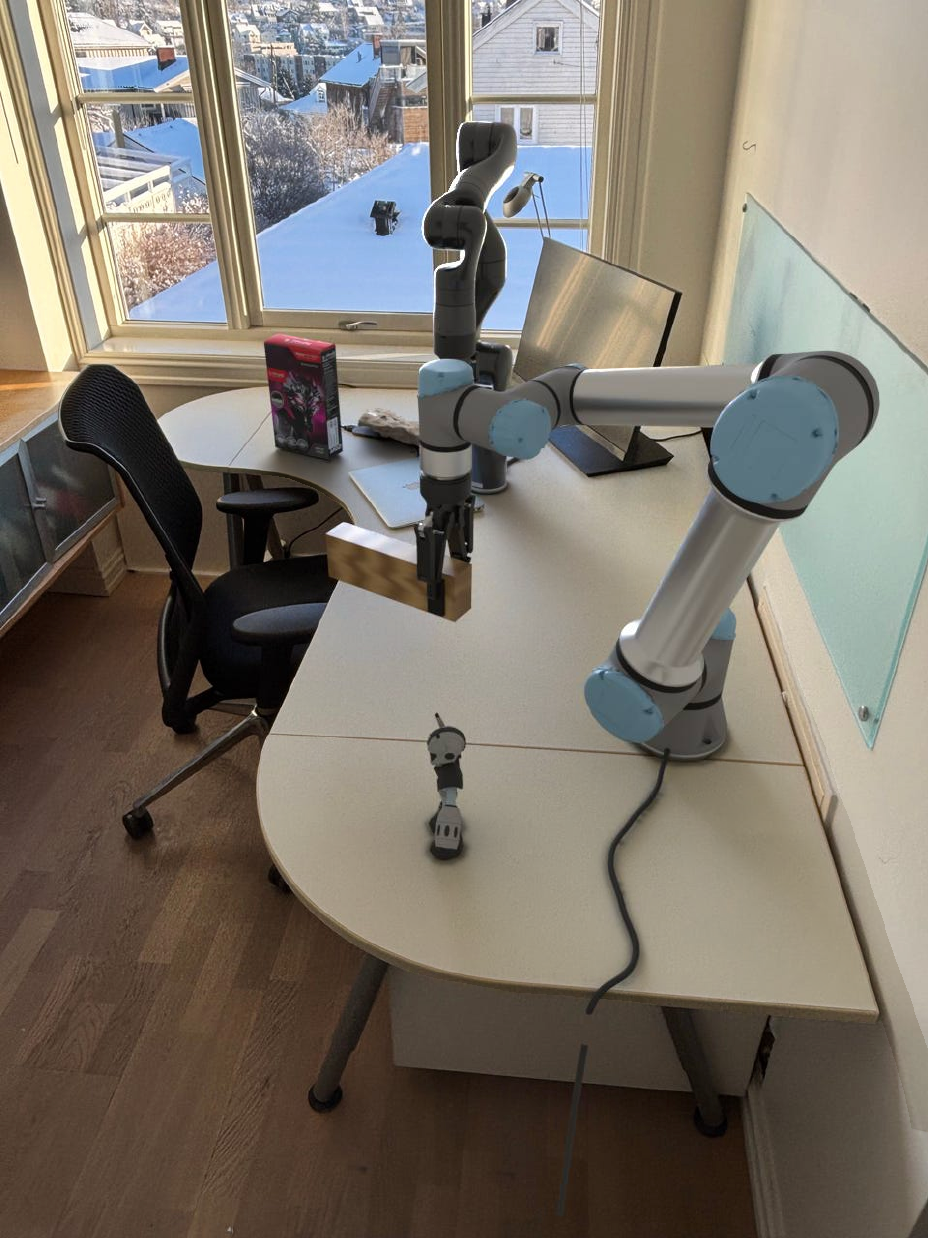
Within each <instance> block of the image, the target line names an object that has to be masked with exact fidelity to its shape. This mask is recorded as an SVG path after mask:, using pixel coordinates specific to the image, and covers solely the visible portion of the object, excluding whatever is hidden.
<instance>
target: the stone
mask: <svg viewBox="0 0 928 1238" xmlns="http://www.w3.org/2000/svg"><path fill="white" fill-rule="evenodd" d="M357 426H358V427H368V428H369V429H370V430H371V431H373V432H375V433H378V434H380V437H383V438H387V439H388V438H391V439H393V440H395V441H400V442H401V443H404V444H409V445H415V446H417V447H420V445H419V444H420V443H419V420H413V419H406V418H405V417H402V416H401V415H397V414H396V413H394V412H391V410H390V409H384V408H380V407H377V408H374V409H366V410H365V411H363V413H362V414H361V416H360V417H359V419H358V420H357Z"/></svg>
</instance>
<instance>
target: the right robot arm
mask: <svg viewBox="0 0 928 1238" xmlns="http://www.w3.org/2000/svg"><path fill="white" fill-rule="evenodd" d="M473 382H474V377H473V370H472V367H471V366H470V365H468V364H467V363H466V362H464V361H461V360H455V359H439V358H438V359H434V360H431V361H427V362H426V363H424V364H423V365H422V366H421V367H420V368H419V370H418V380H417V394H416V398H417V411H418V422H419V443H420V444H419V445H420V446H419V468H420V471H419V494H420V496H421V498H423V500H424V502H425V503H426V508H425V512H424V517H425V518H424V519H423V520H422V522H421V523H419V522H415V523H414V525H413V532H414V534H415V540H416V541H415V542H416V543H415V544H416V545H415V546H416V551H417V579H418V580H420V581H423V582H426V583H427V597H428V612H429V613H428V612H427V613H428V614H430V613H432V614H431V615H433V614H434V615H433V616H436V615H437V616H436V617H439V616H440V617H439V618H441V617H443V616H444V615H445V579H442V578H441V577H442V570H443V563H444V555H446V548H447V547H448V551H449V557H452V558H455V559H458V560H461V561H464V562H467V563H470V564H471V561H472V557H471V556H468V554H472V553H473V551H474V527H475V526H474V524H475V523H474V521H475V520H474V519H475V517H474V515H475V505H476V499H477V496H476V495H475V494H472V491H471V477H472V473H471V471H470V470H471V468H472V443H473V444H476V445H478V446H481V447H484V448H486V449H489V450H492V451H494V452H497V453H499V454H501V455H503V456H507V458H513V457H515V458H518V460H524V461H527V460H531V459H534V458H536V457H537V456H539V455H540V453H541V450H542V449H544V448H545V447H546V445H547V443H548V441H549V438H550V435H551V432H552V431H555V430H556V429H558V428H560V427H563V426H610V427H611V426H615V427H616V426H617V427H619V426H620V427H666V428H667V427H671V428H672V427H673V428H713V429H712V433H711V439H710V447H709V448H710V455H711V458H709V459H710V460H709V462H708V463H707V466H706V469H705V470H706V473H705V474H706V477H707V480H708V482H709V485H710V486H711V487H710V489H709V491H708V493H707V495H706V497H705V499H704V500H703V502H702V504H701V506H700V508H699V510H698V512H697V513H696V515H695V517H694V519H693V521H692V523H691V525H690V527H689V529H688V531H687V533H686V534H685V536H684V538H683V540H682V542H681V544H680V545H679V548H678V549H677V551H676V553H675V555H674V557H673V559H672V561H671V563H670V564H669V566H668V568H667V570H666V572H665V573H664V576H663V577H662V579H661V582H660V583H659V585H658V587H657V589H656V591H655V592H654V594H653V597H652V599H651V600H650V602H649V604H648V606H647V608H646V609H645V612H644V614H643V615H642V617H641V619H640V618H639V619H635V620H633V621H631V622H629V623H627V624H626V626H625V627H624V628H623V629H622V631H621V632H620V634H619V636H618V638H617V640H616V641H615V644H614V645H613V647H612V650H611V651H610V653H609V655H608V656H607V658H606V659H605V660H604V662H602V664H601V665H600V666H598V667H595V668H594V669H593V670H592V671H591V673H590V675H588V677H587V678H586V680H585V682H584V685H583V695H584V700H585V703H586V706H587V707H588V709H589V711H590V714H591V716H592V717H593V718H594V720H595V721H596V722H597V723H598V724H599V725H600V727H602V728H603V729H604V730H605V731H606V732H607V733H608V734H610V735H612V736H613V737H615V738H617V739H619V740H621V741H624V742H627V743H632V742H633V743H634V744H636V745H637V746H638V747H639V748H640V749H641V750H643V751H645V752H646V753H648V754H650V755H651V756H654V757H656V758H659V759H661V763H660V765H659V766H660V767H659V771H658V774H657V780H656V783H655V785H654V788H653V789H652V791H651V793H650V794H649V796H648V797H647V798H646V799H645V801H643V803H642V804H641V805H640V806H639V807H638V808H637V809H636V810H635V811H634V812H633V814H632V815H631V816H630V818H629V819H628V820H627V822H626V823H625V824H624V825H623V826H622V828H621V829H620V830H619V831H618V833H617V834H616V835H615V837H614V838H613V839H612V841H611V844H610V846H609V850H608V853H607V861H606V862H607V871H608V876H609V879H610V882H611V885H612V888H613V891H614V894H615V896H616V899H617V903H618V907H619V911H620V914H621V917H622V919H623V922H624V924H625V927H626V929H627V931H628V935H629V937H630V940H631V945H632V946H631V947H632V953H631V959H630V962H629V963H628V965H627V967H626V968H624V969H623V970H622V971H621V972H620V973H618V974H616V975H615V976H614V977H612V978H610V979H609V980H608V981H606V982H605V983H603V984H602V985H601V986H600V987H599V988H598V989H597V990H596V992H595V993H594V994H593V995H592V997H591V998H590V1000H589V1002H588V1004H587V1006H586V1008H585V1014H586V1015H588V1016H590V1015H592V1014H593V1013H594V1011H595V1008H596V1006H597V1004H598V1003H599V1001H600V1000H601V998H602V997H603V996H604V995H605V994H606V993H607V992H608V991H610V990H611V989H612V988H613V987H615V986H616V985H618V984H620V983H621V982H623V981H624V980H625V979H627V978H628V977H629V976H630V975H631V974H632V973H633V972H634V970H635V969H636V966H637V965H638V961H639V958H640V942H639V938H638V935H637V932H636V928H635V927H634V924H633V923H632V920H631V918H630V915H629V913H628V910H627V905H626V902H625V899H624V895H623V892H622V889H621V887H620V884H619V881H618V878H617V875H616V871H615V865H614V862H615V861H614V860H615V852H616V850H617V847H618V845H619V844H620V842H621V840H622V839H623V838H624V837H625V835H626V834H627V833H628V832H629V830H630V829H631V828H632V827H633V825H634V824H635V823H636V821H637V820H638V818H639V817H640V816H641V815H642V814H643V813H644V812H645V810H646V809H647V808H648V807H649V806H650V805H651V804H652V803H653V801H654V800H655V799H656V797H657V796H658V794H659V792H660V791H661V788H662V785H663V781H664V777H665V772H666V768H667V764H668V761H670V762H675V763H694V762H700V761H703V760H706V759H709V758H711V757H714V755H716V754H718V752H720V751H721V750H722V748H723V747H724V744H725V743H726V740H727V739H726V738H727V733H728V721H727V716H726V712H725V708H724V707H725V706H724V701H723V692H724V686H725V682H726V678H727V674H728V669H729V664H730V659H731V654H732V651H733V647H734V641H735V639H736V637H737V634H736V629H737V617H736V614H735V613H734V612H733V611H732V609H731V608H730V606H731V605H732V603H733V602H734V600H735V598H736V596H737V595H738V593H739V592H740V590H741V589H742V587H743V585H744V583H745V582H746V580H747V578H748V577H749V575H750V574H751V572H752V570H753V569H754V567H755V566H756V564H757V563H758V561H759V559H760V558H761V556H762V554H763V553H764V551H765V549H766V548H767V546H768V544H769V543H770V541H771V540H772V538H773V537H774V535H775V533H776V531H777V530H778V529H779V527H780V525H781V524H782V523H785V522H791V521H794V520H797V519H799V518H800V517H802V516H803V514H805V512H806V510H807V508H808V507H809V505H810V504H811V502H812V501H813V499H814V498H815V496H816V495H817V493H818V491H819V490H820V489H821V487H822V485H824V484H823V483H824V482H825V481H826V480H827V478H828V476H829V474H830V473H831V471H832V470H833V468H834V467H835V466H836V465H837V464H838V463H839V462H840V461H841V460H842V459H843V458H845V457H846V456H847V455H848V454H849V453H851V452H852V451H854V450H855V448H857V447H858V446H859V445H861V444H862V443H863V442H864V440H865V439H866V438H867V437H868V436H869V435H870V433H871V431H872V430H873V428H874V427H875V424H876V421H877V418H878V416H879V410H880V404H881V401H880V392H879V391H880V390H879V388H878V384H877V380H876V379H875V377H874V376H873V374H872V373H871V371H870V370H869V368H868V367H866V365H864V363H862V362H861V361H860V360H858V359H857V358H855V357H853V356H852V355H850V354H847V353H843V352H840V351H836V350H815V351H802V352H792V353H791V352H789V353H771V354H769V355H767V356H766V357H765V358H764V359H762V361H761V362H760V363H738V364H737V363H736V364H708V365H707V364H706V365H679V366H678V365H677V366H652V367H651V366H650V367H649V366H648V367H623V368H622V367H621V368H619V367H618V368H595V369H590V368H588V367H586V366H585V365H583V364H581V363H570V364H565V365H560V366H557V367H555V368H553V369H551V370H549V371H548V372H545V373H543V374H541V375H539V376H537V377H534V378H532V379H530V380H528V381H526V382H522V383H521V384H518V385H516V386H514V387H511V389H509V390H506V391H504V392H497V391H494V390H492V389H490V388H488V387H487V388H486V387H484V386H479V385H475V384H473ZM588 1048H589V1046H588V1045H586V1044H583V1043H581V1044H580V1049H579V1055H578V1060H577V1067H576V1073H575V1078H574V1086H573V1093H572V1099H571V1106H570V1112H569V1121H568V1127H567V1135H566V1142H565V1148H564V1149H565V1151H564V1158H563V1164H562V1165H563V1166H562V1171H561V1180H560V1189H559V1195H558V1203H557V1208H556V1216H557V1217H559V1218H561V1217H562V1216H563V1215H564V1214H563V1213H564V1207H565V1200H566V1194H567V1188H568V1179H569V1172H570V1166H571V1159H572V1153H573V1152H572V1150H573V1143H574V1137H575V1131H576V1123H577V1115H578V1111H579V1110H578V1109H579V1102H580V1096H581V1092H582V1091H581V1090H582V1085H583V1078H584V1071H585V1065H586V1061H587V1060H586V1059H587V1054H588Z"/></svg>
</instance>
